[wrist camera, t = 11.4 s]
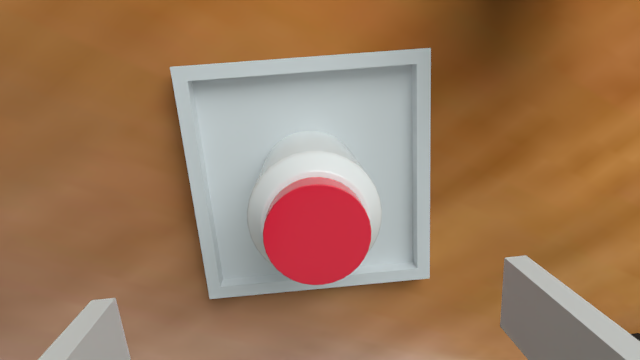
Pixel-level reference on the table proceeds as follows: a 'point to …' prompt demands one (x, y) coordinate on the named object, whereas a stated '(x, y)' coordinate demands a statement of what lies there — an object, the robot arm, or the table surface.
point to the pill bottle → (313, 209)
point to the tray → (296, 116)
